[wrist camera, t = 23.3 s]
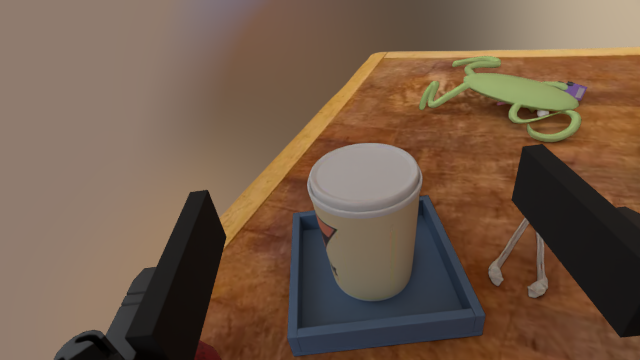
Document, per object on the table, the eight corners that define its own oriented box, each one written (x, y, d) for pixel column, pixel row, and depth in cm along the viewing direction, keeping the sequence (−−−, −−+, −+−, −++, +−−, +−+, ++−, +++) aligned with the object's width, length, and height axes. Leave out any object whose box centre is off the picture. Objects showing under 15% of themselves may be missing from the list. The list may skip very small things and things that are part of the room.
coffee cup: (330, 237, 40) (313, 144, 33) (415, 235, 38) (416, 137, 32) (320, 309, 32) (296, 208, 26) (425, 311, 31) (430, 203, 24)
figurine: (464, 76, 75) (466, 49, 72) (615, 103, 56) (627, 68, 53) (405, 106, 66) (405, 77, 63) (559, 150, 48) (570, 112, 45)
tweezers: (544, 302, 30) (549, 286, 29) (485, 282, 33) (487, 267, 32) (563, 198, 42) (567, 183, 41) (518, 189, 45) (521, 175, 44)
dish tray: (293, 356, 30) (287, 338, 28) (297, 230, 42) (293, 213, 41) (482, 335, 29) (486, 315, 27) (427, 212, 42) (428, 194, 40)
